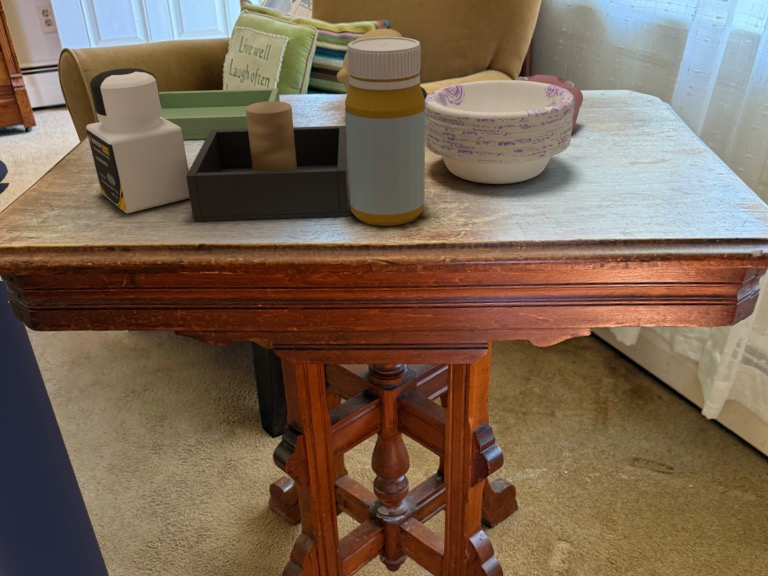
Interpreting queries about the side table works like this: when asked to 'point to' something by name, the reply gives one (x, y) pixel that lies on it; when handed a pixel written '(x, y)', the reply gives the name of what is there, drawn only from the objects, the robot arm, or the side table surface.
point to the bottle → (385, 130)
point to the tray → (211, 109)
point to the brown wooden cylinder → (271, 136)
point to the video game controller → (563, 84)
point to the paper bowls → (498, 128)
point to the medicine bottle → (135, 142)
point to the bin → (270, 178)
